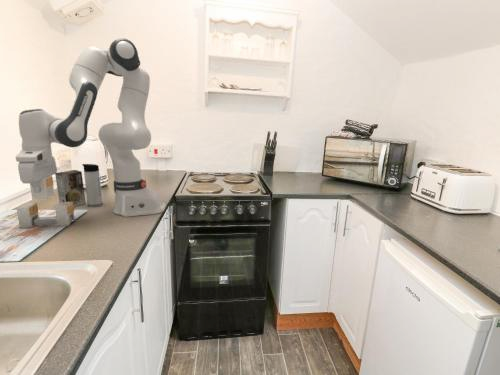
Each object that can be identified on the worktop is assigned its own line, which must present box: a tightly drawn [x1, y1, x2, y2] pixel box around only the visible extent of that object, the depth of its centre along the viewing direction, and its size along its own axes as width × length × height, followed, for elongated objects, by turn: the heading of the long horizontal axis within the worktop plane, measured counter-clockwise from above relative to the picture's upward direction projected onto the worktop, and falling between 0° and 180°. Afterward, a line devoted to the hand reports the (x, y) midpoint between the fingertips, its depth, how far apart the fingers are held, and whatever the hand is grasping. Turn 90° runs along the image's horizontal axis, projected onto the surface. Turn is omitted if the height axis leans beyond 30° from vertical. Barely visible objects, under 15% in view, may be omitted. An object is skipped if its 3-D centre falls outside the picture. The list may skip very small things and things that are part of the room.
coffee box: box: [54, 169, 87, 208], centre depth 138 cm, size 9×6×16 cm
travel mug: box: [82, 163, 103, 208], centre depth 139 cm, size 6×7×20 cm
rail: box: [15, 202, 76, 229], centre depth 115 cm, size 18×6×8 cm, turn 101°
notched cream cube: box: [29, 175, 55, 201], centre depth 113 cm, size 6×6×8 cm
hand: (42, 190), depth 113 cm, fingers closed on notched cream cube, 6 cm apart
